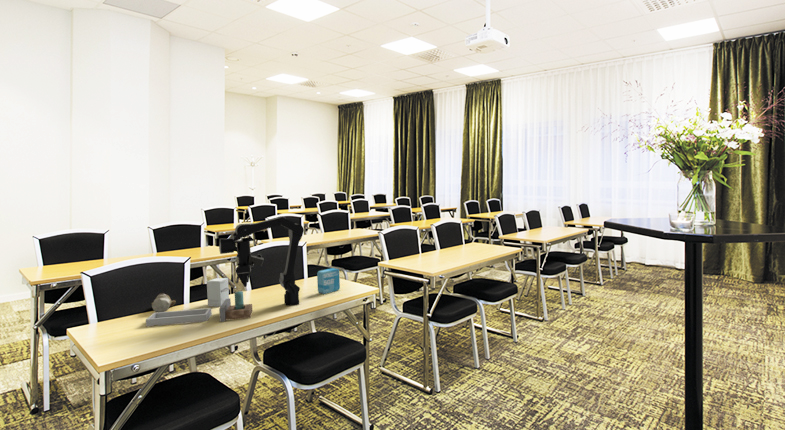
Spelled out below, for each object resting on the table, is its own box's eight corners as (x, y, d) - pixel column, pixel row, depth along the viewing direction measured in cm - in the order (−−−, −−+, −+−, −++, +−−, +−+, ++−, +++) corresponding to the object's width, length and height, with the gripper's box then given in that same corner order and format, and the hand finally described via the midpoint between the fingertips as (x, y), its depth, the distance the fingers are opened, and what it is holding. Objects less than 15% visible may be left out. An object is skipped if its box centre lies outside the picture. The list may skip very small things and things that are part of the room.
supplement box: (221, 306, 204) (219, 281, 203) (207, 306, 206) (206, 281, 205) (229, 302, 211) (228, 277, 210) (216, 302, 213) (215, 277, 212)
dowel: (244, 312, 191) (243, 291, 191) (243, 315, 188) (242, 293, 187) (236, 313, 191) (235, 291, 190) (234, 315, 187) (233, 293, 187)
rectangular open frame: (211, 314, 192) (211, 308, 192) (206, 321, 182) (206, 314, 182) (154, 319, 187) (153, 312, 187) (146, 326, 177) (145, 319, 177)
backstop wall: (231, 310, 196) (230, 298, 196) (225, 321, 181) (224, 307, 180) (226, 311, 196) (225, 298, 196) (220, 322, 180) (219, 308, 180)
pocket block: (252, 312, 195) (252, 303, 195) (250, 318, 185) (249, 310, 185) (229, 314, 193) (229, 305, 193) (226, 321, 183) (225, 312, 183)
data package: (323, 294, 222) (322, 272, 221) (317, 293, 225) (316, 271, 224) (340, 290, 231) (339, 268, 230) (334, 288, 234) (333, 267, 233)
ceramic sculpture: (146, 296, 193) (152, 291, 207) (147, 315, 193) (153, 308, 207) (172, 294, 197) (176, 288, 211) (172, 312, 197) (177, 306, 211)
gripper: (260, 252, 187) (263, 287, 188) (263, 247, 205) (265, 278, 206) (234, 255, 184) (236, 289, 185) (239, 248, 202) (241, 280, 203)
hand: (246, 284), depth 195 cm, fingers open, 9 cm apart
